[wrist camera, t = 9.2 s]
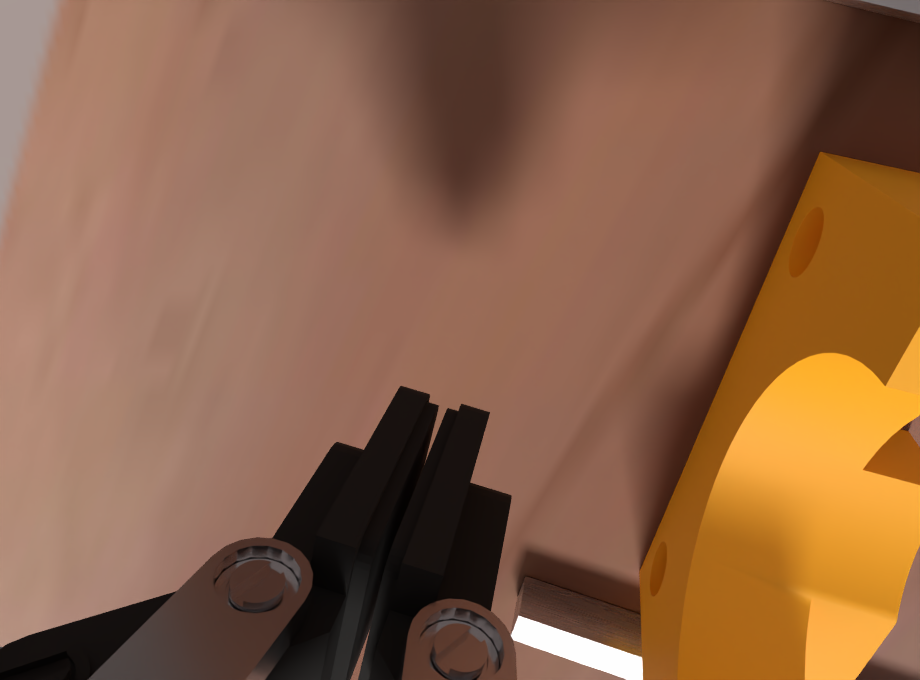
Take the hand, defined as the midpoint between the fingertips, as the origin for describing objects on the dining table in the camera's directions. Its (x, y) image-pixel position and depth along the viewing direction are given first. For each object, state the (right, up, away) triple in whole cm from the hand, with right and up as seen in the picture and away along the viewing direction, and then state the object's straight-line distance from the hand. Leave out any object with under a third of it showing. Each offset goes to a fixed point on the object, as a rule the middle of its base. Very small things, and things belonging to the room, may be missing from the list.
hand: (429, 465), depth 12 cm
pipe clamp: (+9, 0, +4) cm, 10 cm away
